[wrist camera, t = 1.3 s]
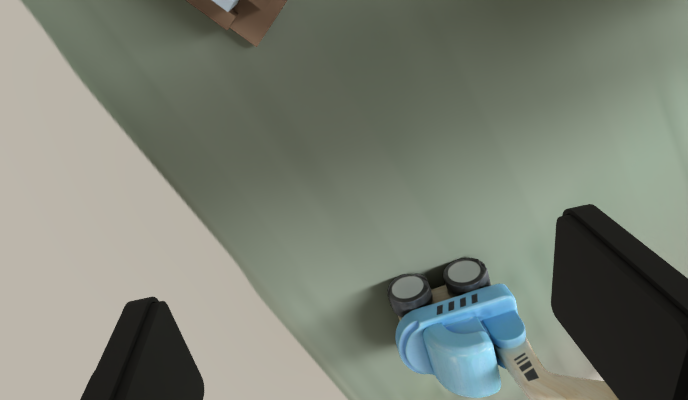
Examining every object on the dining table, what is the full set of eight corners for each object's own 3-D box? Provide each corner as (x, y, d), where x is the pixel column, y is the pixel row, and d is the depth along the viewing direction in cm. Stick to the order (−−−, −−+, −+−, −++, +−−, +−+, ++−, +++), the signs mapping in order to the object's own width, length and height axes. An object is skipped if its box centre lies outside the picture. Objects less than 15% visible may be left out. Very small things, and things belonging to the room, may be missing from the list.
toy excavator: (549, 295, 47) (671, 451, 32) (396, 341, 48) (447, 515, 33) (543, 230, 43) (680, 374, 28) (376, 281, 44) (423, 449, 29)
